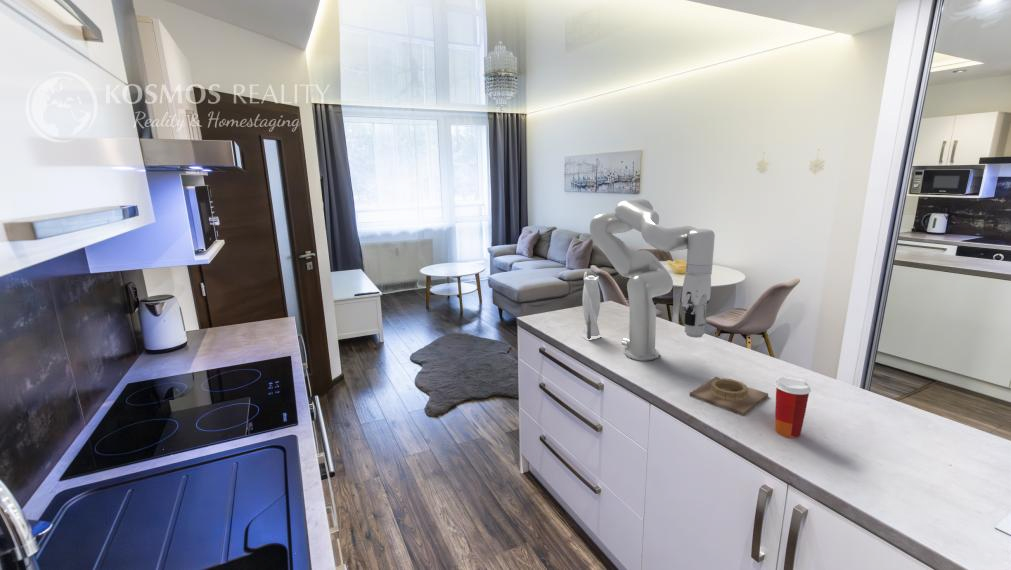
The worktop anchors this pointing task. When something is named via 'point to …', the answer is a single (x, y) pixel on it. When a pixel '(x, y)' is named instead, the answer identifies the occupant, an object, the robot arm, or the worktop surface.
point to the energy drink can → (698, 319)
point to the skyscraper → (591, 305)
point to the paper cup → (790, 405)
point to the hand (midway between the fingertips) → (695, 322)
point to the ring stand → (729, 395)
